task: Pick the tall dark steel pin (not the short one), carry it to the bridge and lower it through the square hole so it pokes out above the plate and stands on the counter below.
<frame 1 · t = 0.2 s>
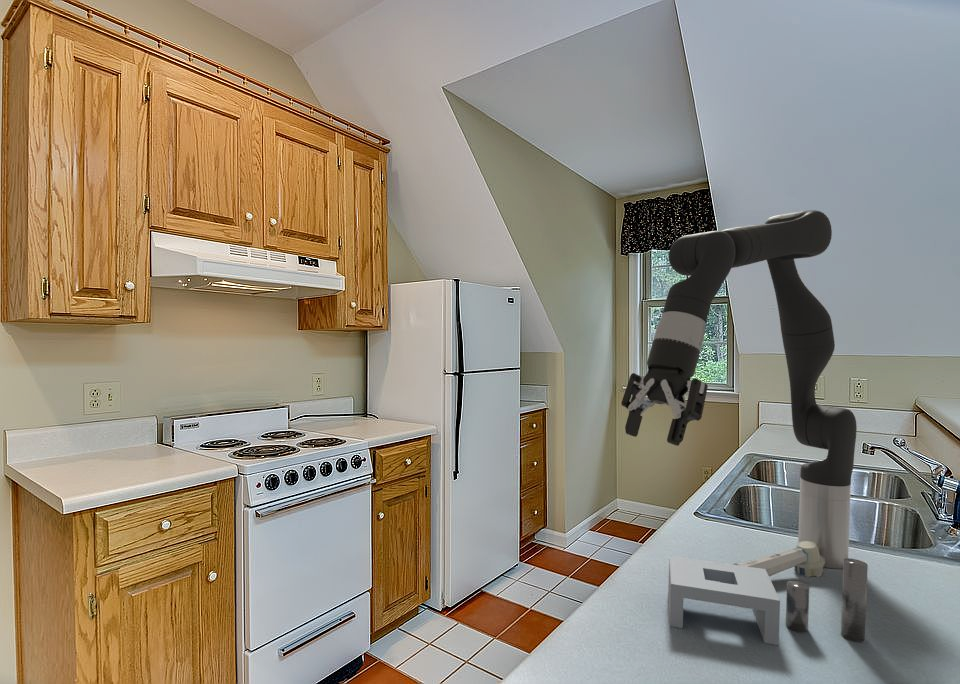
hand: (650, 439, 87), 31 cm above the countertop, tool tilted 20°, fingers open, 8 cm apart
bridge: (718, 616, 93), on the countertop
beige toy mallet: (773, 581, 108), on the countertop
short pin: (796, 627, 90), on the countertop
tall pin: (852, 636, 88), on the countertop
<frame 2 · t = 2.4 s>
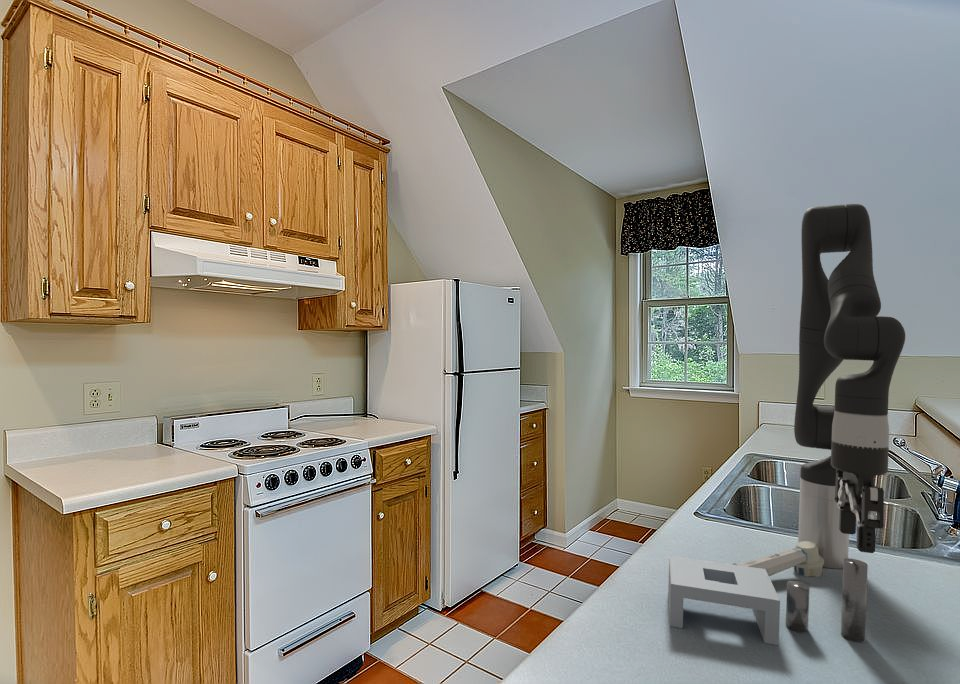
hand: (856, 542, 88), 15 cm above the countertop, tool pointing down, fingers open, 8 cm apart
nothing on the countertop moved.
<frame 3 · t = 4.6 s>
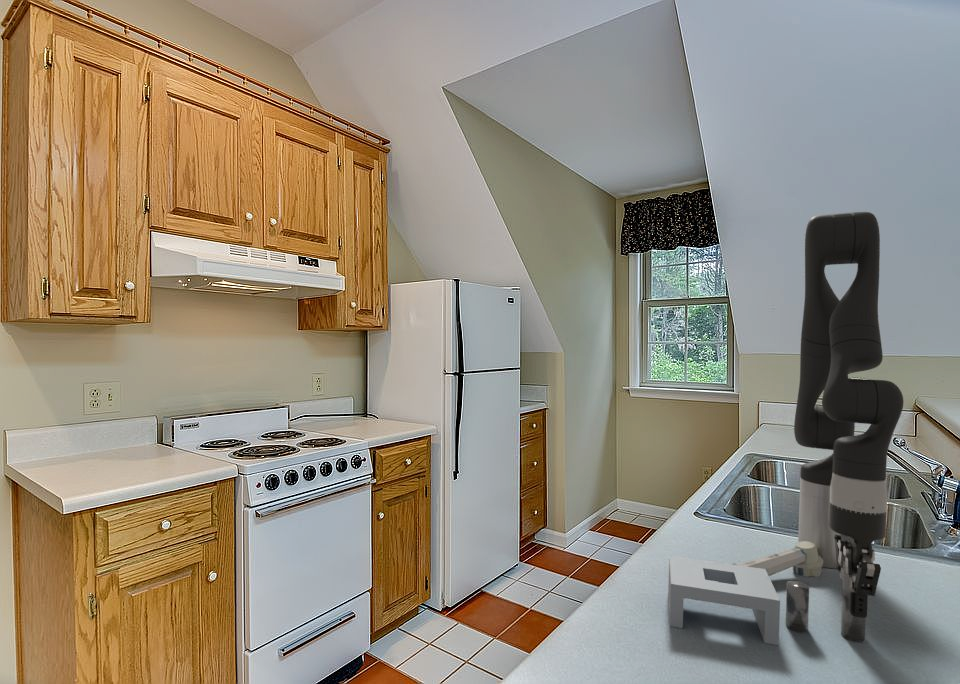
hand: (853, 609, 88), 4 cm above the countertop, tool pointing down, fingers closed on tall pin, 3 cm apart
tall pin: (852, 636, 88), on the countertop, touching gripper
everything else where it was.
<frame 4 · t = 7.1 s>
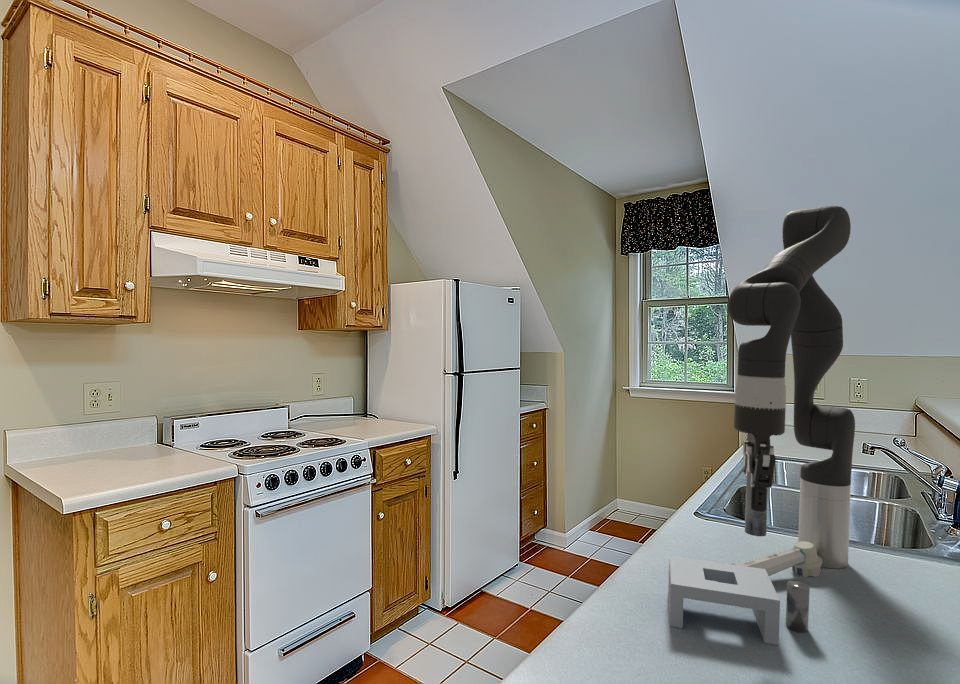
hand: (755, 506, 91), 20 cm above the countertop, tool pointing down, fingers closed on tall pin, 3 cm apart
tall pin: (755, 532, 91), point 15 cm above the countertop, touching gripper
everything else where it was.
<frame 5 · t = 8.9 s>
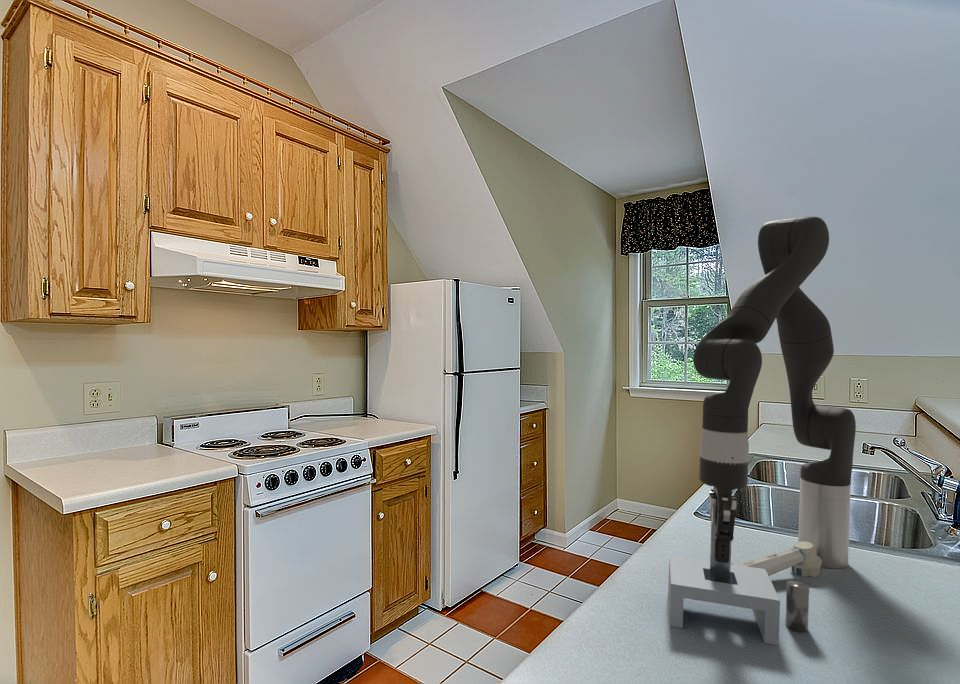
hand: (720, 556, 93), 10 cm above the countertop, tool pointing down, fingers closed on tall pin, 3 cm apart
tall pin: (719, 582, 93), point 6 cm above the countertop, touching gripper
everything else where it was.
when the fingers open (8 cm above the countertop, at t = 10.1 s): tall pin drops 3 cm, on the countertop.
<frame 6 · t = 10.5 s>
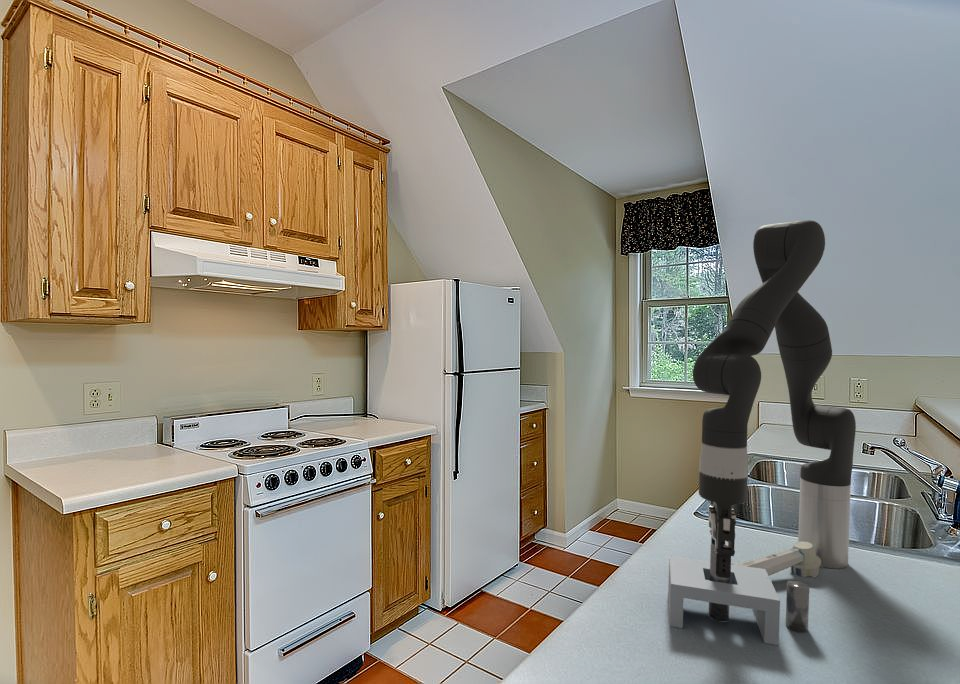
hand: (720, 566, 93), 9 cm above the countertop, tool pointing down, fingers open, 7 cm apart
tall pin: (718, 616, 93), on the countertop
everything else where it was.
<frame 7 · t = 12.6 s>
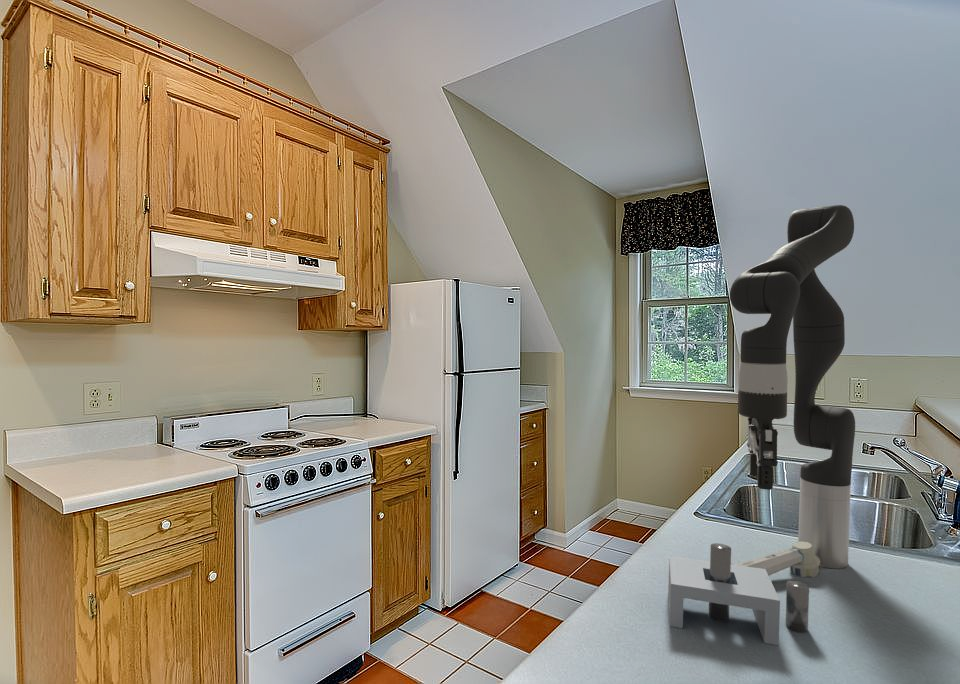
hand: (760, 481, 95), 23 cm above the countertop, tool pointing down, fingers open, 8 cm apart
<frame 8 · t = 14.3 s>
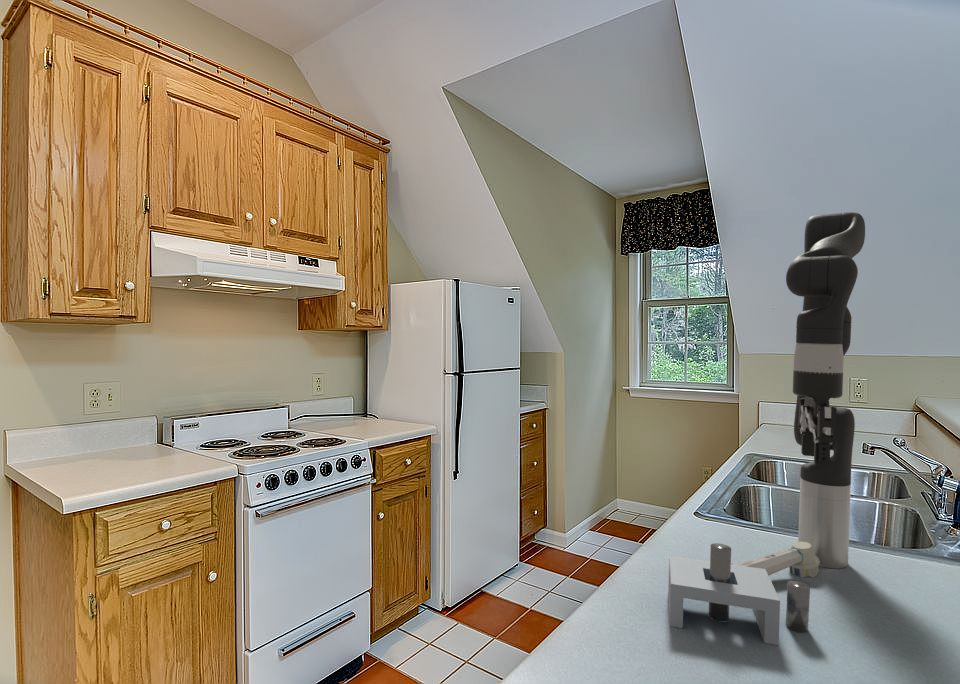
hand: (814, 460, 97), 26 cm above the countertop, tool pointing down, fingers open, 8 cm apart
at the end: tall pin 0.1 cm off-centre on the bridge, point 0.0 cm above the bridge's base; tall pin tilted 0°; short pin moved 0.0 cm from its start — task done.
